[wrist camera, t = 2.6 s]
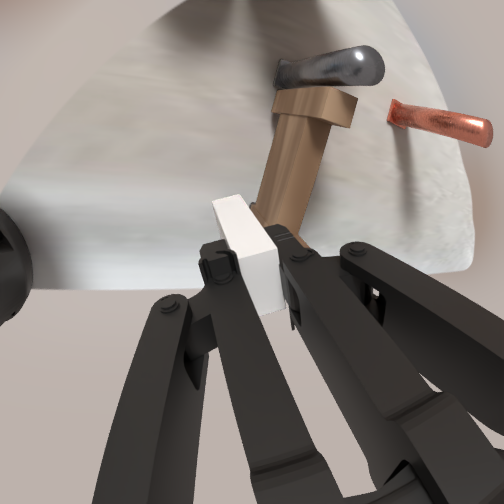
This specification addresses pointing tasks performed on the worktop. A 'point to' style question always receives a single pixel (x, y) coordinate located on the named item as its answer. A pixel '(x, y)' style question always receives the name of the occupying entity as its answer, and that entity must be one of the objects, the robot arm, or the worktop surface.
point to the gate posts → (371, 73)
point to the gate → (298, 152)
